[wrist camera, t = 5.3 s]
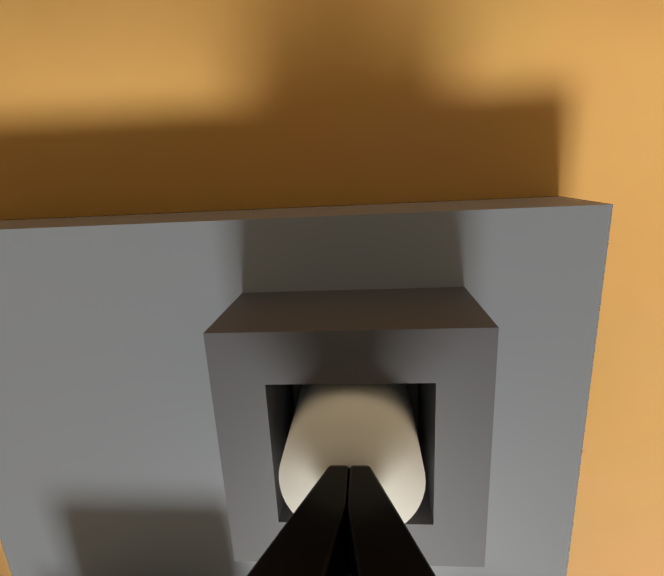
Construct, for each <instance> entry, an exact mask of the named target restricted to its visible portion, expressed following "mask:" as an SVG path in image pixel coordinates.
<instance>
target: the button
mask: <svg viewBox="0 0 664 576" xmlns="http://www.w3.org/2000/svg"><path fill="white" fill-rule="evenodd" d="M330 465H347V466H348V467H349V470H350V467H351V466H353V465H367V466H370V467H371V469H372V470H373V472H374V473H375V475H376V477H377V478H378V480H379V482H380V483H381V485H382V487H383V488H384V490H385V492H386V493H387V495H388V497H389V498H390V500H391V502H392V503H393V505H394V507H395V508H396V510H397V512H398V513H399V515H400V517H401V518H402V520H403V522H404V523H406V522H407V521H408V520H410V519H411V517H412V516H413V515H414V514H415V513H416V511H417V509H418V508H419V506H420V504H421V502H422V499H423V496H424V492H425V484H426V480H425V471H424V466H423V461H422V456H421V451H420V446H419V441H418V436H417V431H416V426H415V421H414V416H413V411H412V406H411V401H410V397H409V392H408V389H407V386H406V384H405V383H391V384H303V385H302V388H301V391H300V395H299V398H298V402H297V405H296V409H295V413H294V416H293V420H292V423H291V427H290V430H289V434H288V438H287V441H286V445H285V448H284V452H283V455H282V459H281V463H280V467H279V484H280V490H281V493H282V496H283V498H284V500H285V502H286V504H287V505H288V507H289V508H290V510H291V511H292V512H293V513H294V512H295V511H296V509H297V508H298V507H299V505H300V504H301V503H302V501H303V500H304V499H305V497H306V496H307V495H308V493H309V492H310V491H311V489H312V488H313V487H314V485H315V484H316V483H317V481H318V480H319V479H320V477H321V476H322V475H323V473H324V472H325V470H326V469H327V468H328V467H329V466H330Z"/></svg>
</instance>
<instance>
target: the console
mask: <svg viewBox="0 0 664 576" xmlns="http://www.w3.org/2000/svg"><path fill="white" fill-rule="evenodd" d="M612 208H613V204H608V203H601V202H594V201H587V200H581V199H574V198H567V197H561V196H554V197H531V198H508V199H485V200H461V201H438V202H415V203H392V204H368V205H345V206H322V207H299V208H276V209H252V210H229V211H206V212H183V213H159V214H136V215H113V216H90V217H66V218H43V219H20V220H0V540H1V543H2V546H3V549H4V552H5V555H6V559H7V562H8V565H9V568H10V571H11V574H12V576H247V575H248V573H249V572H250V571H251V569H252V568H253V567H254V565H255V564H256V563H257V561H258V560H259V559H260V557H261V556H262V555H263V553H264V552H265V551H266V549H267V548H268V547H269V545H270V544H271V543H272V541H273V540H274V539H275V537H276V536H277V535H278V533H279V532H280V531H281V529H282V528H283V527H284V525H285V524H286V523H287V521H288V520H289V519H290V517H291V516H292V515H293V512H292V511H291V510H290V508H289V507H288V505H287V504H286V502H285V500H284V498H283V496H282V493H281V490H280V484H279V467H280V463H281V459H282V455H283V452H284V448H285V445H286V441H287V438H288V434H289V430H290V427H291V423H292V420H293V416H294V413H295V409H296V405H297V402H298V398H299V395H300V391H301V388H302V385H303V384H391V383H405V384H406V386H407V389H408V392H409V397H410V401H411V406H412V411H413V416H414V421H415V426H416V431H417V436H418V441H419V446H420V451H421V456H422V461H423V466H424V471H425V480H426V484H425V492H424V496H423V499H422V502H421V504H420V506H419V508H418V509H417V511H416V513H415V514H414V515H413V516H412V517H411V519H410V520H408V521H407V522H406V523H405V525H406V527H407V528H408V530H409V532H410V533H411V535H412V537H413V538H414V540H415V542H416V543H417V545H418V547H419V548H420V550H421V552H422V553H423V555H424V557H425V558H426V560H427V562H428V563H429V565H430V567H431V568H432V570H433V572H434V573H435V575H436V576H566V574H567V566H568V559H569V551H570V543H571V535H572V527H573V519H574V511H575V503H576V495H577V487H578V479H579V471H580V463H581V455H582V447H583V439H584V431H585V423H586V415H587V407H588V399H589V391H590V383H591V375H592V367H593V359H594V351H595V343H596V335H597V327H598V319H599V311H600V303H601V295H602V288H603V280H604V272H605V264H606V256H607V248H608V240H609V232H610V224H611V216H612Z"/></svg>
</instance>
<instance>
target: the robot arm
mask: <svg viewBox="0 0 664 576" xmlns="http://www.w3.org/2000/svg"><path fill="white" fill-rule="evenodd" d="M247 576H436V575H435V573H434V572H433V570H432V568H431V567H430V565H429V563H428V562H427V560H426V558H425V557H424V555H423V553H422V552H421V550H420V548H419V547H418V545H417V543H416V542H415V540H414V538H413V537H412V535H411V533H410V532H409V530H408V528H407V527H406V525H405V523H404V522H403V520H402V518H401V517H400V515H399V513H398V512H397V510H396V508H395V507H394V505H393V503H392V502H391V500H390V498H389V497H388V495H387V493H386V492H385V490H384V488H383V487H382V485H381V483H380V482H379V480H378V478H377V477H376V475H375V473H374V472H373V470H372V469H371V467H370V466H367V465H353V466H351V467H350V470H349V467H348V466H347V465H330V466H329V467H328V468H327V469H326V470H325V472H324V473H323V475H322V476H321V477H320V479H319V480H318V481H317V483H316V484H315V485H314V487H313V488H312V489H311V491H310V492H309V493H308V495H307V496H306V497H305V499H304V500H303V501H302V503H301V504H300V505H299V507H298V508H297V509H296V511H295V512H294V513H293V515H292V516H291V517H290V519H289V520H288V521H287V523H286V524H285V525H284V527H283V528H282V529H281V531H280V532H279V533H278V535H277V536H276V537H275V539H274V540H273V541H272V543H271V544H270V545H269V547H268V548H267V549H266V551H265V552H264V553H263V555H262V556H261V557H260V559H259V560H258V561H257V563H256V564H255V565H254V567H253V568H252V569H251V571H250V572H249V573H248V575H247Z"/></svg>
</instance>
